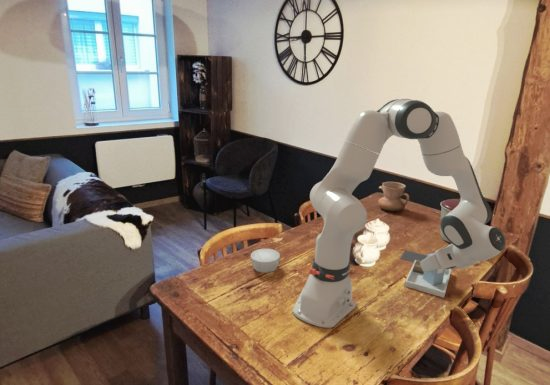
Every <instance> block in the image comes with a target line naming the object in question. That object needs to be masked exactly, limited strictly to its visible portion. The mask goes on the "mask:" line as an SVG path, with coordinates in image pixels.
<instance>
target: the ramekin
mask: <svg viewBox="0 0 550 385" xmlns="http://www.w3.org/2000/svg"><path fill="white" fill-rule="evenodd" d="M280 259H281V254H280V252H278V250H276V249H272V248H260V249H256V250H253V251H252V252H251V254H250V260H251V264H252V267H253V269H254V270H255V271H257V272H259V273H263V274H264V273H265V274H266V273H267V274H268V273H272V272H274V271H276V269H278V267H279V262H280Z"/></svg>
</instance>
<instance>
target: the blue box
mask: <svg viewBox="0 0 550 385" xmlns="http://www.w3.org/2000/svg"><path fill="white" fill-rule="evenodd" d="M432 254H435V252H431V253H428V254H426V255H427V257H429V256H430V255H432ZM427 257H426V258H427ZM444 272H445V269H444V270H443V269H437V270H433V271H428V272H424V274H423V279H424V280H426V281H427V282H428V283H430V284H431V285H437V284H441V283H442V282H443V277H444Z"/></svg>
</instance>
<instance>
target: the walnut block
mask: <svg viewBox="0 0 550 385" xmlns="http://www.w3.org/2000/svg"><path fill="white" fill-rule="evenodd" d="M420 262H421V261H417V260H416V262H415V264H414V268H413V272H417V273H420V274H424V271H423V270H422V268H421V265H420Z"/></svg>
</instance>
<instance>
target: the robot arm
mask: <svg viewBox="0 0 550 385" xmlns="http://www.w3.org/2000/svg"><path fill="white" fill-rule="evenodd" d="M392 136H395V137H397V138H401V139H407V140H417V142H418V143H419V148H420V151H421V156H422V159H423V163H424V165H425V167H426V170H428V171H429V172H430V173H432V174H434V175H435V176H439V177H452V178H453V180H454V182H455V185H456V187H457V190H458V193H459V196H460V197H461V200H460V203H459V204H458V206H457V207H456V208H454V209H453V210H452V211H450V212H449V213H448V214H447V215H446V216H445V217H443V218H442V220H441V219H440V225H441V230H442V232H443V234H444V235H445V237H446V238H447V239H448V240H449V241H450V242H451V243H450V244H449V245H447V246H444V247H442V248H439V249H437V250H435V251H434V253H435V254H432V255H430V256H429V257H427V258H425V259H424V260H422V261H421V262H420V265H421V268H422V270H423V271H424V272H428V271H433V270H437V269H443V270H444V269H451V270H452V269H455V270H458V269H459V270H464V269H466V268H469V267H471V266H474V265H476V264H478V263H479V262H485V261H487V260H490V259H492V258H494V257H496V256H498V255H499V254H501V253H502V252H503V251H504V249H505V247H506V238H505V235H504V233H503V232H502V230H500V229H499V228H498V227H495V226H491V225H490V226H489V225H487V223H489V222H490V221H491V219H492V214H493V212H492V211H493V210H492V208H491V206H490V204H489V202H488V201H487V200H486V199H485V197H484V195H483V193H482V190H481V188H480V185H479V182H478V180H477V177H476V174H475V171H474V168H473V166H472V163H471V161H470V160H469V158H468V157H467V156H466V155H465V153H464V150H463V146H462V143H461V140H460V135H459V132H458V130H457V127H456V125H455V123H454V121H453V119H452V117H451V115H450V114H448V113H447V112H445V111H434V110H433V108H432V107H430V105H429V104H427V103H425V102H424V101H422V100H417V99H416V100H415V99H410V98H401V99H397V98H396V99H393V100H390V101H388V102H387V103H385V104H383V106H382V107H380V108H379V109H378V110H374V109H373V110H364V111H362V112H361V113H360V114H359V115H358V116H357V118H356V119H355V121H354V123H353V124H352V125H351V127H350V130H349V131H348V132H347V135H346V138H345V140H344V142H343V143H342V147H341V149H340V150H339V154H338V155H337V158H336V160H335V162H334V164H333V165H332V167H331V169H330V170H329V172H327V174H326V175H325V176H324V177H323V179H322V180H321V181H319V182H317V183H316V184H314V185H313V187H312V188H311V190H310V191H309V192H310V193H309V200H310V203H311V205H312V208H313V209H314V210H315V211H316V213H318V214H319V215H320V216H321V217H322V219H323V227H322V231H321V233H319V234H318V235H317V236H316V239H315V250H314V257H313V261H312V264H311V267H310V268H309V270H308V274H309V275H308V277H307V280H306V282H305V284H304V286H303V288H302V290H301V292H300V294H299V295H298V298H297V300H296V301H295V303H294V306H293V309H292V314H293V315H294V316H295V317H296V318H298V319H300V320H301V321H303V322H305V323H308V324H310V325H314V326H315V327H316V326H317V327H319V328H330V329H331V328H334V327H335V326H336V325H337V324H338V323H340V321H342V320H343V319H344V318H345V317H346V316H348V314H350V313H351V312H352V311H353V310H355V308H356V307H357V304H356V302H355V301H354V299H353V284H354V283H353V282H352V280H351V277H350V270H351V262H350V255H351V249H352V248H351V246H352V242H353V239H354V236H355V235H356V234H357V233H359V232H360V231H361V230H362V229H363V228H364V227H365V225H366V224H367V220H368V211H367V210H366V208H365V206H364V205H363V204H362V203H361V201H360V199H358V198H357V197H356V196H354V195H353V192H354V191H355V190H356V188H357V187H358V186H359V185H360V184H361V183H362V182H364V181H367V180H368V179H369V178H370V177H371V174H372V172H373V170H374V168H375V166H376V163H377V161H378V159H379V157H380V154H381V152H382V149H384V148H383V147H384V145H385V143H387V141H388V139H390V138H391V137H392Z"/></svg>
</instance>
